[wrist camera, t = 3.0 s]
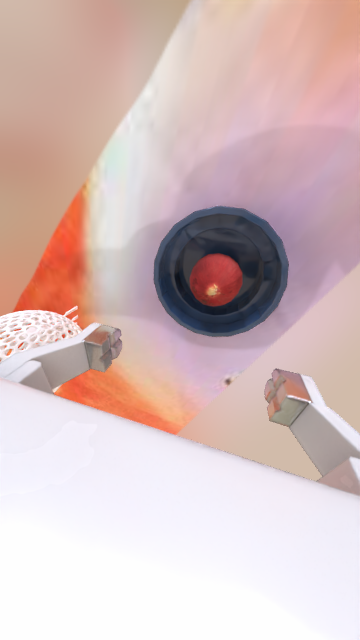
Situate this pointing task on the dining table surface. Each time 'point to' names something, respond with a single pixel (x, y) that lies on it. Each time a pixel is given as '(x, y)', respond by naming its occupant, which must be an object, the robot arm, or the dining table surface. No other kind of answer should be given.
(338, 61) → the dining table surface
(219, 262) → the onion
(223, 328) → the bowl
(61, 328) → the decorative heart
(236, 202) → the dining table surface
